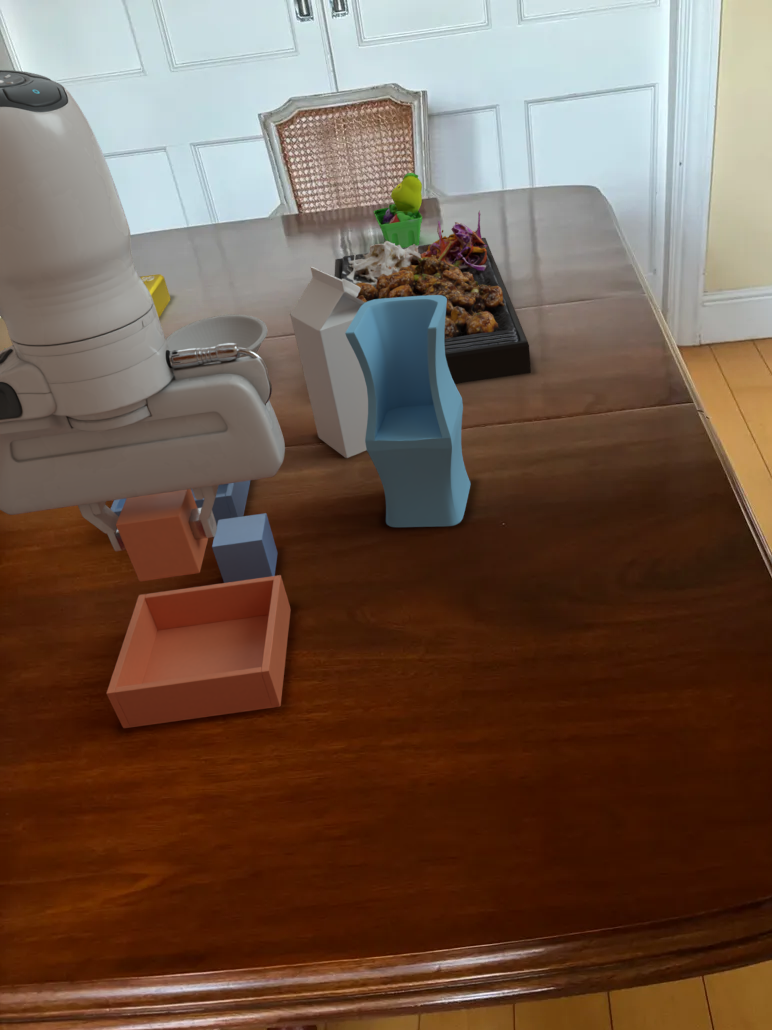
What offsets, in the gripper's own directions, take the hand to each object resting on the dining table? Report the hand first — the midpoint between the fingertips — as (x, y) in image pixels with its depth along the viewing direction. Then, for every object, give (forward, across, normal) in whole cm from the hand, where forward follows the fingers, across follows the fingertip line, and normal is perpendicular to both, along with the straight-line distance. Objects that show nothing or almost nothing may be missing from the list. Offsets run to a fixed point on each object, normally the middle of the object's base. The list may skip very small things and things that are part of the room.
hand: (166, 540), depth 66 cm
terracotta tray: (+13, 0, 0) cm, 13 cm away
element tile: (+13, +28, -92) cm, 97 cm away
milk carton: (+13, -12, -37) cm, 41 cm away
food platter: (+13, -21, -70) cm, 74 cm away
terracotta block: (+2, 0, 0) cm, 2 cm away
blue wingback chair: (+13, -19, -20) cm, 30 cm away
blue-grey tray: (+13, +6, -27) cm, 30 cm away
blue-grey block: (+13, -2, -13) cm, 18 cm away
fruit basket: (+13, -20, -112) cm, 114 cm away
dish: (+13, +7, -63) cm, 65 cm away
